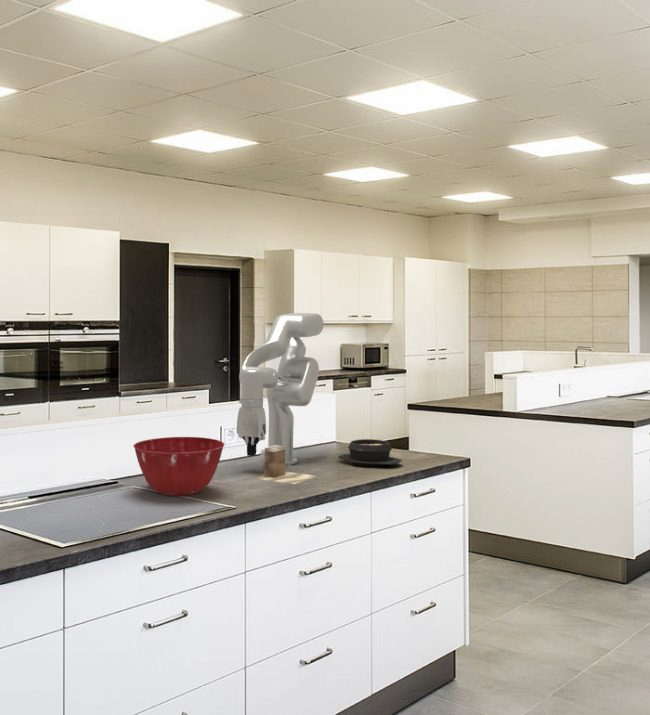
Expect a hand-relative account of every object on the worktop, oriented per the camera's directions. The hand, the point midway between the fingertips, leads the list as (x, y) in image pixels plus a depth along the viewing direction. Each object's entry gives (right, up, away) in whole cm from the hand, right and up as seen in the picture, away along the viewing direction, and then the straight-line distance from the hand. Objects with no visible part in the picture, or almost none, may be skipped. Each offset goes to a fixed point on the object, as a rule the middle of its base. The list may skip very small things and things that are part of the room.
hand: (251, 455), depth 291 cm
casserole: (+43, -6, +24) cm, 50 cm away
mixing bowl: (-21, -8, -29) cm, 37 cm away
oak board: (+13, -7, -7) cm, 16 cm away
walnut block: (+8, -7, -4) cm, 12 cm away
